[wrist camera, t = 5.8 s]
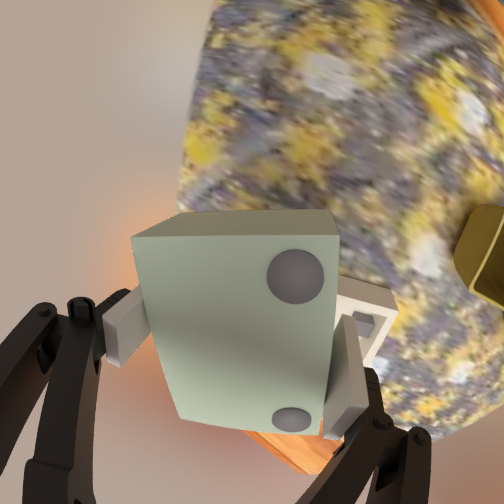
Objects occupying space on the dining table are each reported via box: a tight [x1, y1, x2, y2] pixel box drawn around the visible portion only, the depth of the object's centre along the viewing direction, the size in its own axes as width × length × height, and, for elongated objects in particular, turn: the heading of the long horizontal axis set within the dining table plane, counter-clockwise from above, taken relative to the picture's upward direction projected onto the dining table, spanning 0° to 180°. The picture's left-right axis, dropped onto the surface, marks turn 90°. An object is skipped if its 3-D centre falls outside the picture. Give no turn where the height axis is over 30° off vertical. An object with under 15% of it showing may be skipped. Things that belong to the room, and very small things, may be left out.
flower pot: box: [454, 204, 504, 311], centre depth 22 cm, size 9×9×9 cm
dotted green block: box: [131, 209, 340, 435], centre depth 14 cm, size 11×8×5 cm
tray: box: [334, 275, 399, 367], centre depth 33 cm, size 17×24×5 cm
